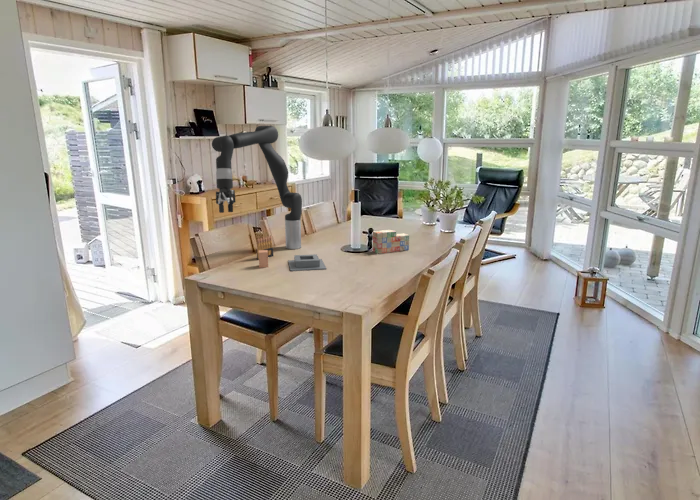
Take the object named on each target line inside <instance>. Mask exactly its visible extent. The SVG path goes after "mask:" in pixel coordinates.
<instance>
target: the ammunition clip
mask: <svg viewBox="0 0 700 500" xmlns="http://www.w3.org/2000/svg"><path fill="white" fill-rule="evenodd" d="M256 246H257V248H256V259H257V260H258V261H259V250H268V257H269V258H272V257H274V247H273V239H272V235H267V236H266V235H265V236H262V237H260V238H259V237H258V238H257V245H256Z"/></svg>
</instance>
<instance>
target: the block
mask: <svg viewBox="0 0 700 500" xmlns="http://www.w3.org/2000/svg"><path fill="white" fill-rule="evenodd" d="M258 266H259V269H260V268H261V269H262V268H269V258H268V250H259V260H258Z"/></svg>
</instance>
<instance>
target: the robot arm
mask: <svg viewBox="0 0 700 500" xmlns="http://www.w3.org/2000/svg"><path fill="white" fill-rule="evenodd" d="M278 138H279V131H278V129H277V128H276V127H275V126H273V125H258V126H256V128H255V131H244V132H243V131H242V132H238V133H233V134H228V135H222V136H217V137H214V138H213V139H212V141H211V146H212V148H213V150H214V151H216V152H219V153H220V154H219V156H216V159H215V167H216V171H215V176H216V177H215V178H216V188H217V190H218V191H215V203H216V205H218V211H219V212H218V213H220V214H222V213H225V207H224V206H225V205H224V204H225V202H226V203H227V212H228V213H233V212H234V204H235V203H236V201H237V200H236V191H235V189H233V188H234V183H233V179H234V178H233V170H232V169H233V168H232V159H233V153H234V149H241V148H245V147H248V146H252V145H257V144H258V145H259V148H260V150H261V151H262V153H263V156H264V158H265V160H266V163H267V165H268V167H269V170H270V172H271V175H272V178H273V179H274V182H275V185H276V188H277V190H278V195H279V198H280V201H281V204H282V206H283V207H285V208H286V209H287V208H288V209H290V212H289V213H286V214H285V215H284V229H285V233H284V235H285V249H288V250H298V249H301V248H302V235H301V234H302V228H301V227H302V226H301V225H302V224H301V223H302V221H301V219H302V218H301V217H302V212H303V209H302V208H303V206H302V205H303V198H302V194H300V193H298V192H294V191H293V192H291V191H290V190H289V187H288V184H287V183H288V178H289V169H288V167H287V164H286V162H285V160H284V159H283V157H282V156H281V155H280V154H279V153H278V152H277V151H276V150H275V149H274V147H273V146H272V144H273V143H274V144H275V142H277V141H278Z"/></svg>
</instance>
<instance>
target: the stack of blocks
mask: <svg viewBox="0 0 700 500" xmlns="http://www.w3.org/2000/svg"><path fill="white" fill-rule="evenodd" d="M403 250H405V251H409V250H410V235H409V234H407V233H404V232H403V233H397V231H396V230H392V229H383V230H374V231H372V252H373V253H375V254H377V253H379V254H386V253H394V252H395V251H396V252H404V251H403ZM396 252H395V253H396Z"/></svg>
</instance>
